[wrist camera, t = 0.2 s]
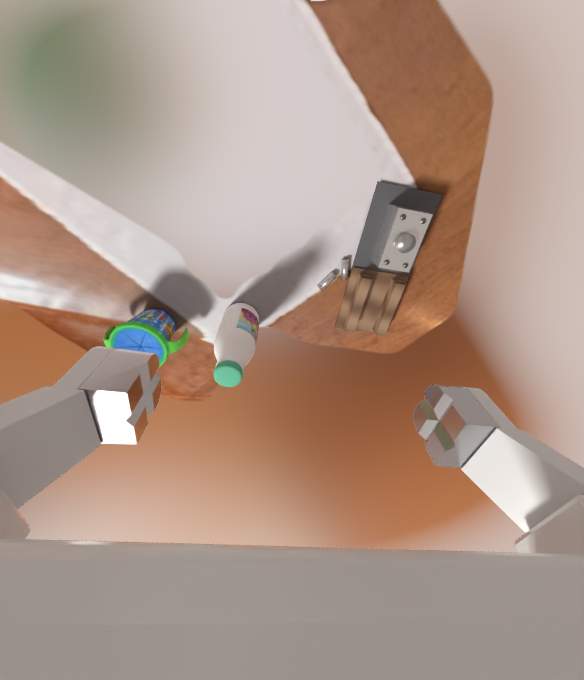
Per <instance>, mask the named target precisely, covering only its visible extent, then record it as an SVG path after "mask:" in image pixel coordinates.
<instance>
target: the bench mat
mask: <svg viewBox="0 0 584 680" xmlns="http://www.w3.org/2000/svg"><path fill="white" fill-rule="evenodd" d="M441 198H442V194H437V193H432V192H427V191H422V190H417V189H412V188H408V187H403V186H398V185H393V184H388V183H383V182H377V185H376V189H375V192H374V195H373V199H372V202H371V206H370V209H369V212H368V216H367V219H366V223H365V226H364V229H363V233H362V236H361V239H360V243H359V246H358V250H357V253H356V256H355V260H354V263H353V266H352V269H353V267H357V268H363V269H369V270H375V271H381V272H387V273H393V274H400V275H406V276H409V275H410V272H411V270H412V267H413V265H414V263H415V260H416V258H417V255H418V253H419V251H420V248H421V246H422V243H423V241H424V239H425V236H426V234H427V231H428V229H429V227H430V224H431V222H432V219H433V217H434V215H435V212H436V210H437V207H438V205H439V203H440V200H441ZM388 204H391V205H396V206H402V207H407V208H412V209H417V210H421V211H424V212H427V213H430V214H433V215H432V218H431V220H430V223H429V225H428V228H427V230H426V232H425V235H424V237H423V240H422V242H421V244H420V247H419V249H418V252H417V254H416V257H415V259H414V261H413V264H412V266H411V269H410V271H409V273H408V272H402V271H396V270H390V269H384V268H378V267H377V266H376V265H375V264H374V263H373V262H372V261H371V256H372V253H373V250H374V247H375V244H376V241H377V238H378V235H379V232H380V229H381V226H382V223H383V220H384V217H385V213H386V210H387V207H388ZM351 272H352V270H351Z"/></svg>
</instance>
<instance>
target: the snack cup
mask: <svg viewBox="0 0 584 680" xmlns="http://www.w3.org/2000/svg"><path fill="white" fill-rule="evenodd" d="M174 331H175V322H174V321H173V319H172V318H171V316H170V315H169V314H167V313H166V312H165V311H163V310H158V309H149V310H145V311H143V312H142V313H140V314H139V315H137V316H135V317H134V318H132V319H131V320H129V321H128V322H126V323H122V324H119V325H117V326H112V327H110V328H109V329H108V330H107V332H106V333H105V335H104V338H103V339H104V342H105V345H106V347H107V348H115V349H125V350H132V351H140V352H147V353H155V354H156V355H157V356H158V358H159V365H160V366H161V365H162V364H163V363H164V362H165V361H166V359H167V357H168V355H169V354H171V353H173V352H175V351H177V350H179V349H180V348H182V347H183V346H184V345H185V344H186V343H187V342H188V339H189V336H188V330H187V328H185V332H184V333H183V335H182V336H181V338H180V340H176V341H172V338H173V335H174ZM160 366H159V367H160Z"/></svg>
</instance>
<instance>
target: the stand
mask: <svg viewBox="0 0 584 680" xmlns="http://www.w3.org/2000/svg"><path fill="white" fill-rule="evenodd" d="M408 279H409V276H406V275H400V274H393V273H387V272H381V271H375V270H369V269H363V268H357V267H353V269H352V272H351V273H350V277H349V280H348V283H347V287H346V290H345V294H344V297H343V300H342V304H341V307H340V310H339V314H338V317H337V321H336V324H335V328H341V329H345V331H351V332H354V331H355V330H356V331H364V332H372V333H375V334H376V335H382V336H385V334H386V332H387V330H388V327H389V325H390V322H391V320H392V318H393V315H394V313H395V311H396V308H397V306H398V303H399V301H400V299H401V296H402V294H403V291H404V289H405V287H406V284H407V282H408Z"/></svg>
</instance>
